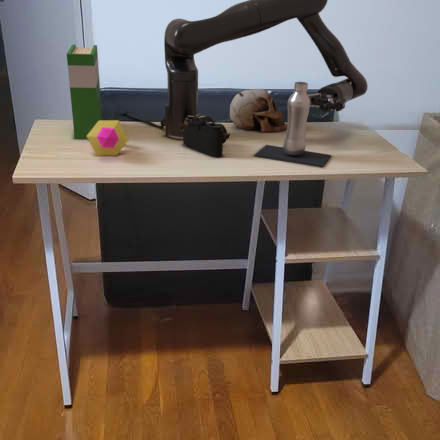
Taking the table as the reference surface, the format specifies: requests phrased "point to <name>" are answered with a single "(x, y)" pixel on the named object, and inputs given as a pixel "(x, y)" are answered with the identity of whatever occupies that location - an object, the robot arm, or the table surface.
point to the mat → (293, 156)
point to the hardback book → (84, 89)
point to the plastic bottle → (297, 120)
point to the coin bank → (256, 111)
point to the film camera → (204, 135)
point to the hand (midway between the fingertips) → (310, 106)
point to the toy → (107, 137)
